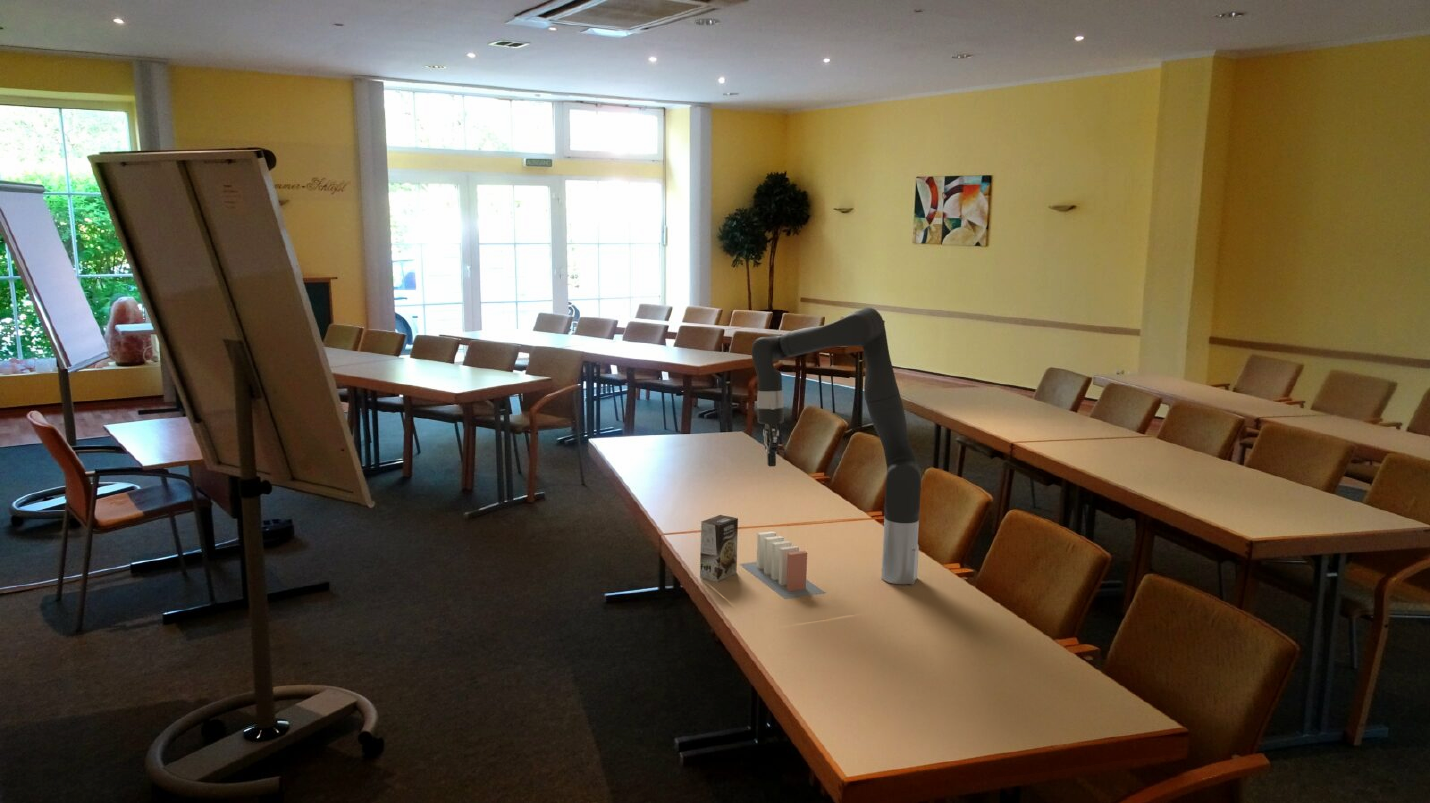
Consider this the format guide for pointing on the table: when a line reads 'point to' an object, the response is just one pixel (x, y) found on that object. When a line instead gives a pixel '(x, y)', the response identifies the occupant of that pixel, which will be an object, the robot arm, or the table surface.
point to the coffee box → (718, 547)
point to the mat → (775, 585)
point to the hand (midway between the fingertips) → (771, 466)
